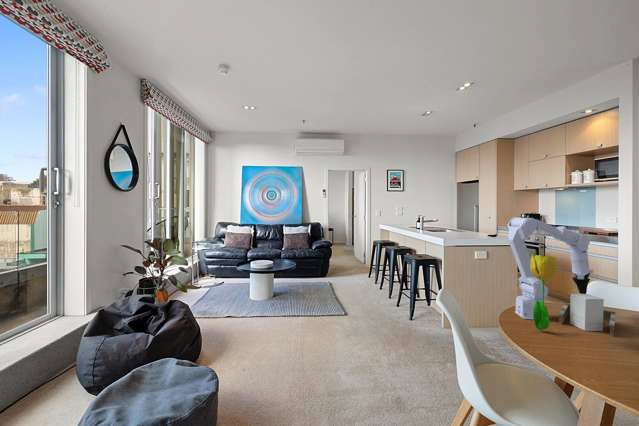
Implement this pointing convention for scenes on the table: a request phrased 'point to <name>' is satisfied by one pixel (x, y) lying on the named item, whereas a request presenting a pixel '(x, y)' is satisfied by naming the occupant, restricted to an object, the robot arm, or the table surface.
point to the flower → (543, 271)
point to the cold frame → (607, 317)
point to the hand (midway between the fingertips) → (583, 290)
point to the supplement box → (586, 312)
